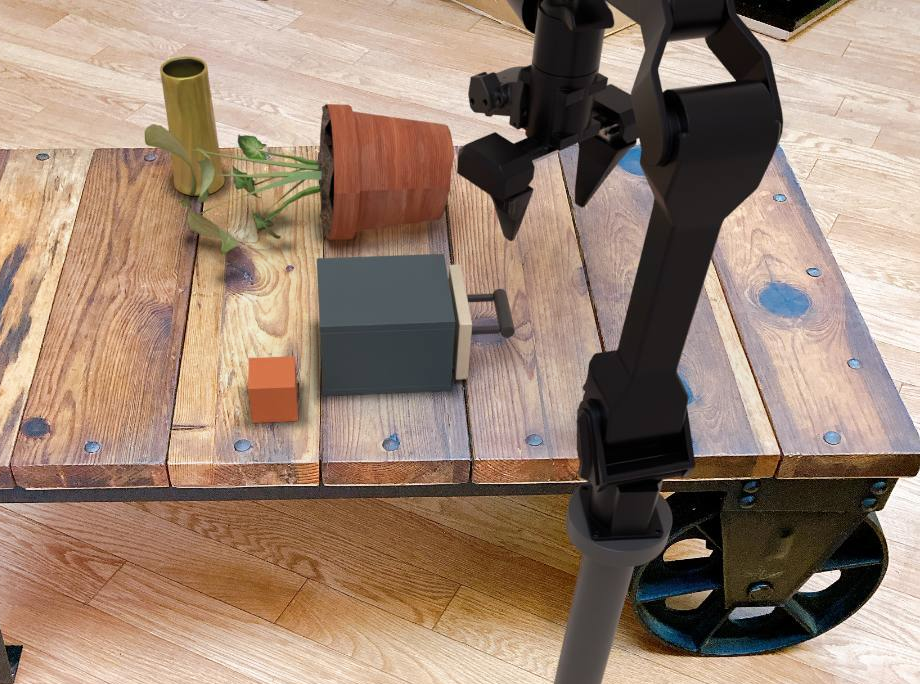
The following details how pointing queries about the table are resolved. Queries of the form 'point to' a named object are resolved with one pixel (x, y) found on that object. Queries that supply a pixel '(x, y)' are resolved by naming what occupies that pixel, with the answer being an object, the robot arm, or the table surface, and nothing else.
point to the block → (273, 389)
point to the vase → (191, 120)
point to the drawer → (465, 323)
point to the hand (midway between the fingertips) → (544, 221)
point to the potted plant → (343, 173)
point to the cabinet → (385, 324)
